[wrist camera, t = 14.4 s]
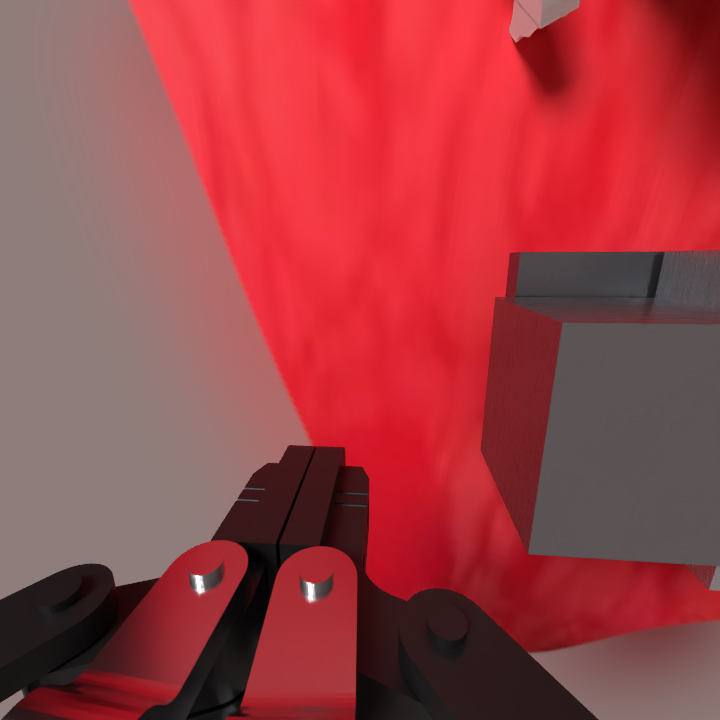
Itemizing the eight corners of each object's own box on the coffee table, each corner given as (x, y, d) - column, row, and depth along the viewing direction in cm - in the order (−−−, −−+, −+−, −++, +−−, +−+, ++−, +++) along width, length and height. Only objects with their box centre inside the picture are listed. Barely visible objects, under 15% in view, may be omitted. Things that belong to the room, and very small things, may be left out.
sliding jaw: (499, 252, 16) (573, 248, 10) (739, 251, 16) (1002, 246, 9) (477, 483, 20) (521, 599, 13) (674, 492, 19) (831, 622, 12)
